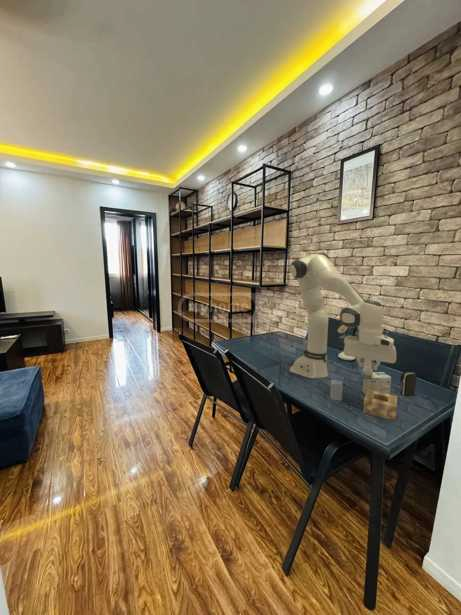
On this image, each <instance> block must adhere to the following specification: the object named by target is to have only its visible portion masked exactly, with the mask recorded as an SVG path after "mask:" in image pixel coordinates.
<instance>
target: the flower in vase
mask: <svg viewBox="0 0 461 615" xmlns="http://www.w3.org/2000/svg"><path fill="white" fill-rule="evenodd" d="M348 328H349V327H346V326H344V325H343V324H342V325H341V326H339V327H338V328H337V330H336V331H337V333H339V334H344V335H341V336H339V339H344V338H345V337H346V336H347V335H346V333H345V332H346V331H347V330H348ZM349 335H350V336H352V334H349ZM337 357H338V358H340V359H341V360H343V361H353V360H356V357H352V356H346V355H345V354H344V350H343V351H341V352H339V353H338V355H337Z"/></svg>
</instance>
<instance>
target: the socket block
mask: <svg viewBox="0 0 461 615" xmlns="http://www.w3.org/2000/svg"><path fill="white" fill-rule="evenodd" d="M397 403H398V395H395V394H391V393H390V394H386V393H382V392H378V391H373V390H369V389H367V392H366V394H365V396H364V399H363V408H362V409H363V413H366V414H369V415H372V416H376V417H379V418H384V419H386V420H387V419H388V420H391V421H396V417H397V416H396V415H397V405H398V404H397Z"/></svg>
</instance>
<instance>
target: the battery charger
mask: <svg viewBox="0 0 461 615" xmlns="http://www.w3.org/2000/svg"><path fill="white" fill-rule="evenodd" d="M400 374H401V375H400V381H399V383H401V385H402V387H401V388H402V389H401V391H400V394H401V395H402V396H405V397H406V396H412V395H415V394H416V392H415V391H416V385H417V377H418V376H417V373H415V372H412V371H404V372H402V373H400Z"/></svg>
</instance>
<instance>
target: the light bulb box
mask: <svg viewBox="0 0 461 615" xmlns="http://www.w3.org/2000/svg"><path fill="white" fill-rule="evenodd" d="M362 379H363V378H362ZM391 383H392V376H390V375H389V374H387V373H385V372H384V371H379V372H374V371H373V376H372V380H367V379H363V380H362V393H363V394H365V395H366V392H367V389H369V390H373V391H378V392H382V393H386V394H391Z"/></svg>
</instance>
